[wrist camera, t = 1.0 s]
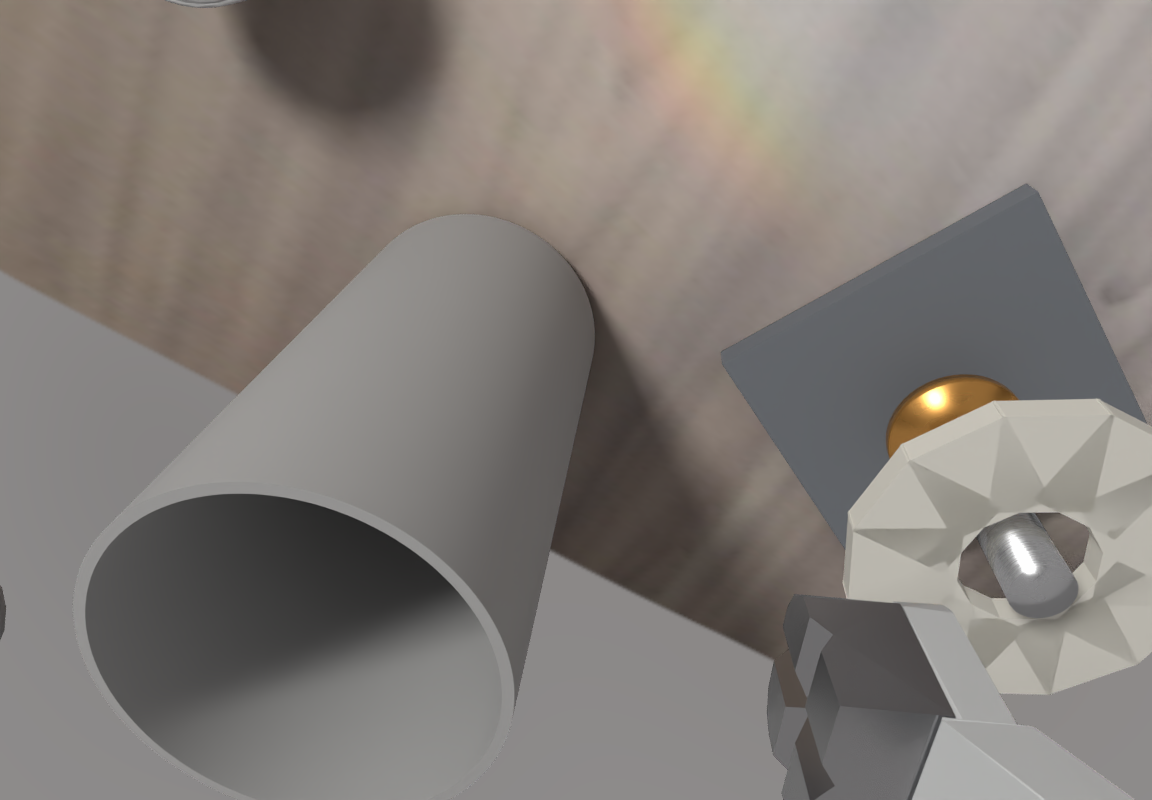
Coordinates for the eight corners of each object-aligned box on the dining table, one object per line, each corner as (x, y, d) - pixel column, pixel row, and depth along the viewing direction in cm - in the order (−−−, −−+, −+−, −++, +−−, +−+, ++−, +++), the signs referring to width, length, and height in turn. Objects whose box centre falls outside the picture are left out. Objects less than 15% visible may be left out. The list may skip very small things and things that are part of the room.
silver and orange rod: (977, 329, 42) (1100, 491, 29) (1030, 429, 44) (1165, 619, 31) (853, 392, 44) (920, 566, 32) (909, 483, 46) (991, 681, 34)
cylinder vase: (491, 467, 50) (340, 874, 28) (319, 322, 47) (-1, 652, 25) (646, 328, 45) (609, 692, 23) (465, 156, 42) (224, 387, 20)
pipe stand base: (1026, 183, 40) (1038, 191, 38) (1149, 442, 45) (1163, 457, 44) (720, 352, 45) (722, 364, 44) (861, 565, 51) (866, 581, 49)
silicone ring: (1131, 335, 29) (1148, 349, 28) (1252, 598, 34) (1270, 619, 33) (785, 498, 34) (788, 515, 33) (930, 712, 38) (937, 733, 37)
